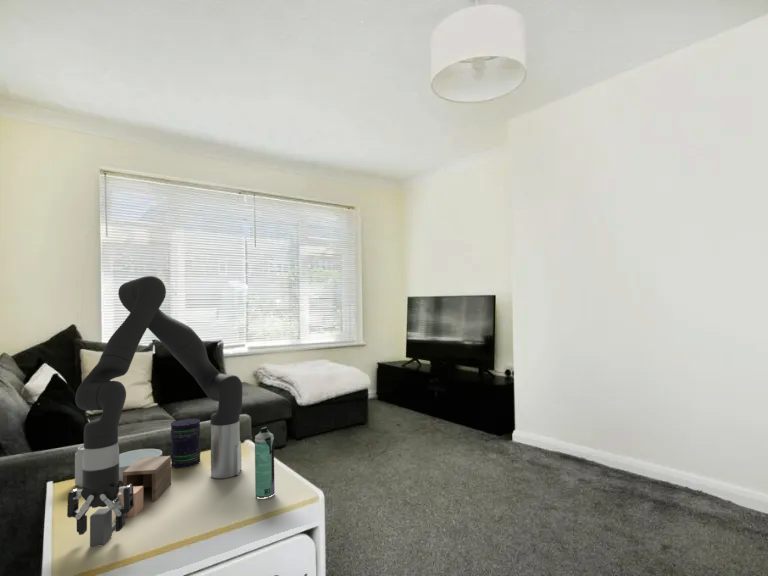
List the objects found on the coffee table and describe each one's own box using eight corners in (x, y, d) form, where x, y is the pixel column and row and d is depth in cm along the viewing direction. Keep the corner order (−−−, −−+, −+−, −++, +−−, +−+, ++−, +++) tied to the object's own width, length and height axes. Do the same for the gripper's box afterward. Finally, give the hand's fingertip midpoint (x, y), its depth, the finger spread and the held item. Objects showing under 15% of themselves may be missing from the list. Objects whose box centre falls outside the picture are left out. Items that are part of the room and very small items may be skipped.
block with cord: (143, 507, 122) (143, 482, 122) (107, 545, 103) (108, 515, 103) (124, 508, 122) (124, 483, 122) (85, 546, 102) (85, 516, 102)
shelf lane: (170, 484, 138) (170, 455, 138) (155, 501, 126) (155, 469, 126) (141, 486, 137) (141, 457, 137) (122, 503, 125) (122, 472, 125)
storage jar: (167, 463, 157) (166, 422, 157) (194, 456, 163) (194, 416, 164) (175, 470, 150) (175, 427, 150) (204, 463, 156) (204, 421, 157)
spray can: (278, 493, 129) (277, 425, 130) (266, 501, 124) (265, 430, 125) (264, 490, 131) (263, 424, 132) (251, 497, 126) (250, 429, 127)
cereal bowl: (132, 467, 154) (132, 447, 154) (173, 469, 151) (173, 449, 151) (91, 487, 137) (91, 464, 138) (136, 490, 134) (136, 467, 134)
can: (108, 478, 144) (108, 442, 144) (90, 488, 136) (90, 449, 137) (87, 478, 145) (87, 442, 145) (68, 487, 137) (69, 449, 138)
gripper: (138, 456, 110) (139, 521, 109) (78, 460, 108) (78, 526, 108) (124, 467, 102) (125, 537, 102) (59, 471, 101) (59, 542, 100)
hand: (101, 531), depth 105 cm, fingers open, 8 cm apart
